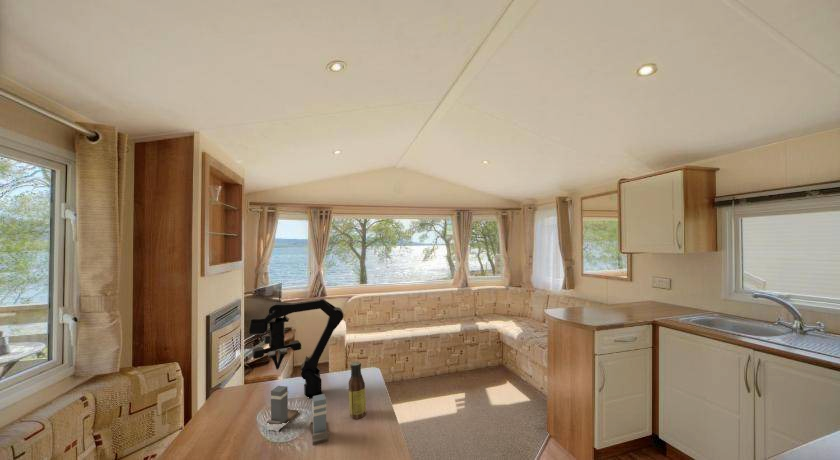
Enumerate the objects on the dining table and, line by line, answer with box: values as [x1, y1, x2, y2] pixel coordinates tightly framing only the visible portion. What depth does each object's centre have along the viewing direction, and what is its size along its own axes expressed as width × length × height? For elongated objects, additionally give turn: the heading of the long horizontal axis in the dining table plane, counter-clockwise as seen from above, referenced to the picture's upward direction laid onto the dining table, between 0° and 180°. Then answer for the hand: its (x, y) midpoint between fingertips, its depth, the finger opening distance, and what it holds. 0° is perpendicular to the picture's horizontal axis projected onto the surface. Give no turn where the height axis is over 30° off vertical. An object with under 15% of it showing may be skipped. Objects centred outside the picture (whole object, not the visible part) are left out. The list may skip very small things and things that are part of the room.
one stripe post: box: [269, 385, 289, 424], centre depth 112 cm, size 4×4×12 cm
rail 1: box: [266, 408, 300, 424], centre depth 114 cm, size 12×5×3 cm, turn 168°
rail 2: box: [310, 421, 329, 446], centre depth 107 cm, size 12×5×3 cm, turn 23°
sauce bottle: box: [348, 361, 367, 420], centre depth 118 cm, size 6×6×20 cm
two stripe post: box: [311, 393, 327, 434], centre depth 105 cm, size 4×4×12 cm
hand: (277, 369), depth 131 cm, fingers closed
